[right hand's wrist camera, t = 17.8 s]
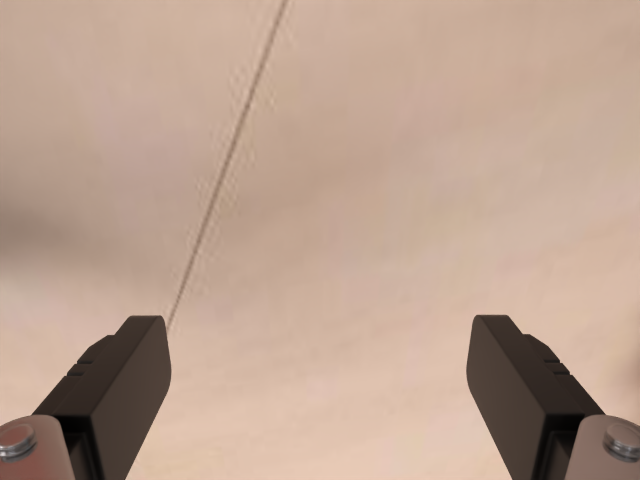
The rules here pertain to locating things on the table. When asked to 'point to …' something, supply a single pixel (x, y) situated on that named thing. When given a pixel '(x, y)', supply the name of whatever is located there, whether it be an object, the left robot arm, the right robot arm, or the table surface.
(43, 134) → the table surface
